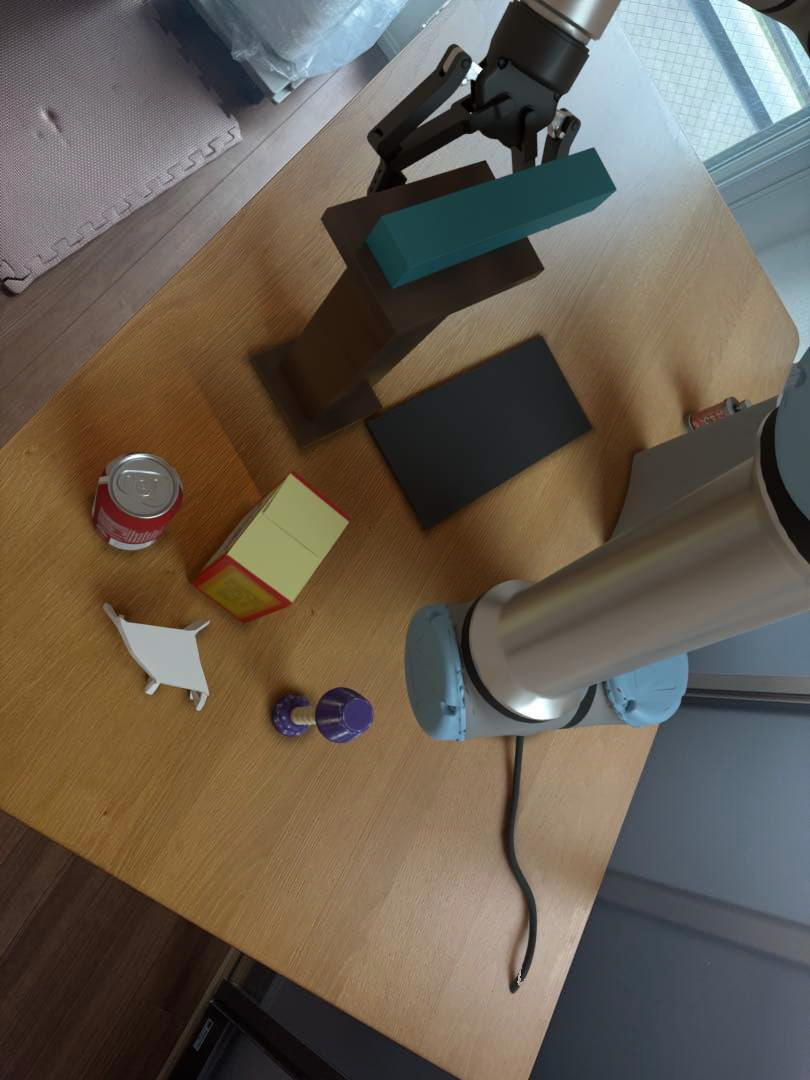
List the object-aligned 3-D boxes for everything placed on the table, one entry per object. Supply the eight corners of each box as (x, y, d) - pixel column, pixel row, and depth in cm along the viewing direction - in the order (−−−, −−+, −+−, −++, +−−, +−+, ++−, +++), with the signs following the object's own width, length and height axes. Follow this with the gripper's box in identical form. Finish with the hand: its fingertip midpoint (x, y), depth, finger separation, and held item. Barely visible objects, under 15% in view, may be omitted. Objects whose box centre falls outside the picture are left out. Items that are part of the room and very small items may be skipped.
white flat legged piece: (232, 634, 72) (244, 630, 68) (194, 715, 69) (204, 716, 65) (116, 581, 68) (121, 573, 64) (71, 663, 65) (73, 661, 61)
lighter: (680, 422, 106) (738, 397, 97) (692, 410, 107) (749, 385, 99) (710, 466, 107) (770, 446, 98) (721, 454, 108) (781, 433, 100)
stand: (348, 320, 85) (482, 153, 59) (395, 403, 85) (548, 274, 59) (229, 368, 77) (322, 201, 51) (281, 458, 78) (400, 339, 52)
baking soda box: (243, 623, 73) (291, 605, 59) (190, 584, 71) (225, 556, 57) (296, 550, 77) (353, 517, 62) (247, 511, 75) (293, 468, 61)
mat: (539, 337, 97) (542, 335, 97) (590, 429, 98) (592, 428, 97) (364, 423, 83) (366, 422, 82) (424, 530, 84) (427, 529, 83)
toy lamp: (283, 681, 73) (342, 677, 59) (323, 699, 75) (391, 699, 60) (264, 727, 72) (320, 735, 57) (305, 744, 73) (371, 756, 58)
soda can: (155, 560, 70) (174, 535, 60) (81, 540, 68) (88, 511, 57) (174, 495, 72) (196, 460, 62) (103, 474, 70) (113, 433, 59)
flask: (629, 573, 96) (802, 536, 74) (603, 556, 95) (772, 513, 73) (660, 465, 102) (828, 401, 80) (636, 448, 101) (800, 378, 79)
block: (571, 169, 63) (594, 146, 60) (593, 210, 63) (617, 189, 61) (364, 239, 52) (381, 215, 49) (391, 289, 52) (410, 267, 50)
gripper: (630, 71, 67) (505, 276, 79) (408, -79, 52) (297, 199, 65) (676, 103, 62) (536, 314, 75) (448, -51, 48) (321, 242, 60)
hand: (425, 261), depth 70 cm, fingers open, 13 cm apart
